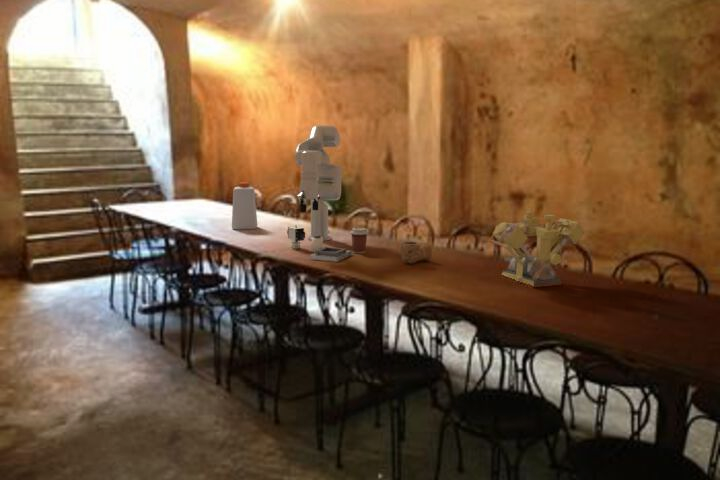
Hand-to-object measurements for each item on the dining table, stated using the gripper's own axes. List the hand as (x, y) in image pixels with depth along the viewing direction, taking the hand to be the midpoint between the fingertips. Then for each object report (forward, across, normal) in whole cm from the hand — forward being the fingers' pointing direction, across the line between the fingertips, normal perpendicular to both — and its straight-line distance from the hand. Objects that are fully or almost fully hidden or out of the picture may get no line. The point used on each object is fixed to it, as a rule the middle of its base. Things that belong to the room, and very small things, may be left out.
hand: (309, 211), depth 305 cm
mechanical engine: (+21, -7, +111) cm, 113 cm away
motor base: (+21, +3, +16) cm, 26 cm away
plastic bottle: (+21, -35, -77) cm, 87 cm away
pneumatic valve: (+21, -4, -11) cm, 24 cm away
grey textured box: (+21, -10, +55) cm, 60 cm away
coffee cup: (+21, -15, +20) cm, 33 cm away
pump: (+21, -4, +2) cm, 21 cm away
